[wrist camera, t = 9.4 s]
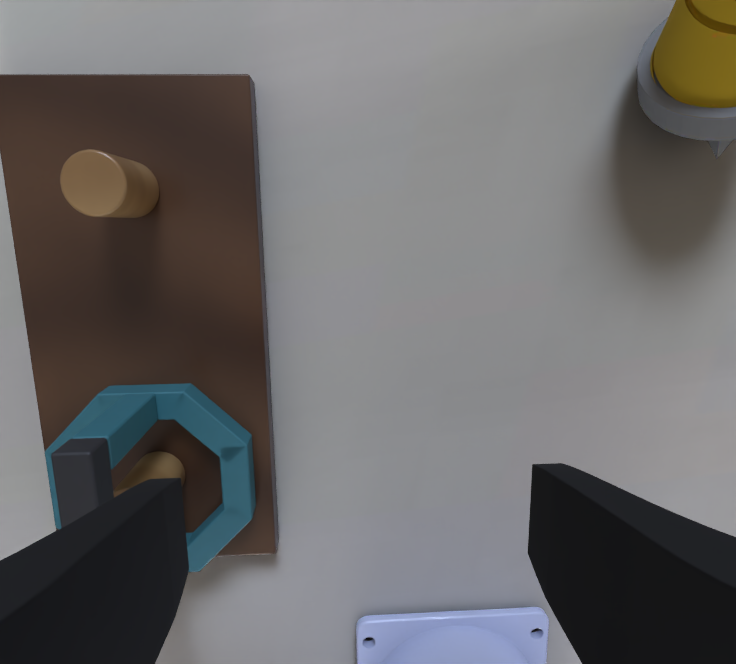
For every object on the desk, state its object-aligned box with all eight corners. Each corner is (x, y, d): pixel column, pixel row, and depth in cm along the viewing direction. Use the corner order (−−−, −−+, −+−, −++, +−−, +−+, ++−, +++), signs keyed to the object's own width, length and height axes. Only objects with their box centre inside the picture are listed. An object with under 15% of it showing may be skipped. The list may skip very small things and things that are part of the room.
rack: (279, 539, 21) (266, 606, 17) (73, 548, 21) (15, 619, 17) (254, 82, 18) (231, 44, 14) (7, 82, 17) (-84, 43, 14)
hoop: (259, 552, 20) (228, 680, 14) (75, 560, 20) (-29, 694, 14) (248, 381, 19) (210, 447, 13) (51, 386, 18) (-75, 457, 13)
